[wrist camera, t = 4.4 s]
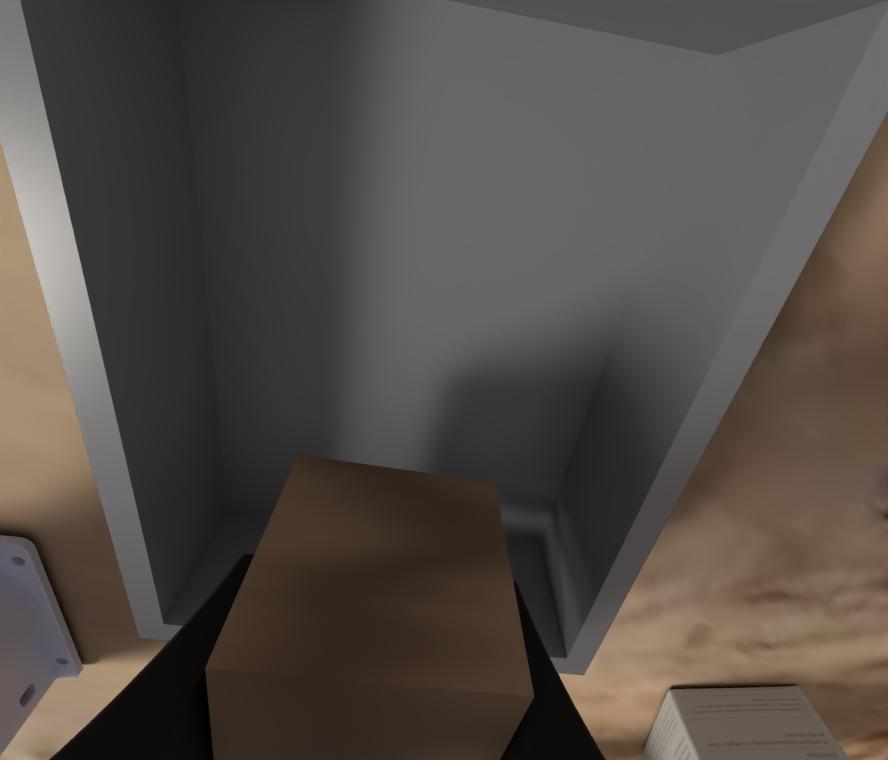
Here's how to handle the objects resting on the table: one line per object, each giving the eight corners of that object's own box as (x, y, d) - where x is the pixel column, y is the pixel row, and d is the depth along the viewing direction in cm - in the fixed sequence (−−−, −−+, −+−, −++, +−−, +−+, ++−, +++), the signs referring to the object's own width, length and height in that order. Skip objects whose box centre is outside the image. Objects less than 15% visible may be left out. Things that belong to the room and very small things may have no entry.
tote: (549, 548, 18) (583, 675, 14) (215, 513, 17) (139, 638, 13) (749, 25, 10) (982, -65, 6) (142, -104, 9) (-131, -331, 5)
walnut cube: (495, 482, 11) (534, 695, 7) (454, 604, 14) (465, 824, 9) (297, 454, 11) (204, 668, 6) (290, 587, 13) (218, 811, 9)
